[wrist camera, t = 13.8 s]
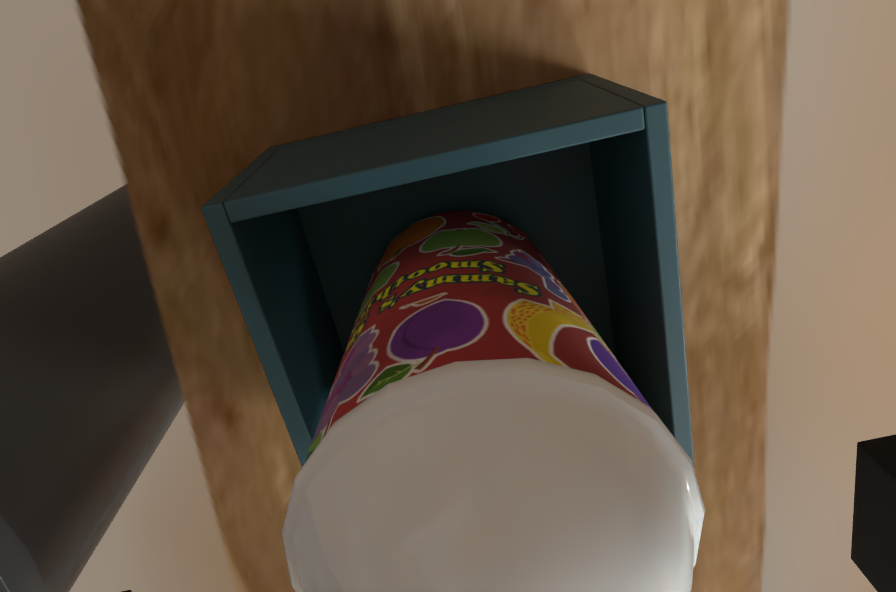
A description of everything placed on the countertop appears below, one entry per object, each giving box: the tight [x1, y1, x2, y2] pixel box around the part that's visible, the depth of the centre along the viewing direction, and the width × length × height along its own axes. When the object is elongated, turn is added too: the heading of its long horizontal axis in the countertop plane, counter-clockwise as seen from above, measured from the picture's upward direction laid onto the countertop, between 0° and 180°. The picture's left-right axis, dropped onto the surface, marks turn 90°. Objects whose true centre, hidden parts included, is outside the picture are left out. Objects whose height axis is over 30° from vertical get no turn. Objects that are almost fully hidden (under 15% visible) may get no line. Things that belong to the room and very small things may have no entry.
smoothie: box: [282, 210, 705, 592], centre depth 16 cm, size 8×8×20 cm
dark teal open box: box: [201, 73, 694, 467], centre depth 22 cm, size 12×12×8 cm
